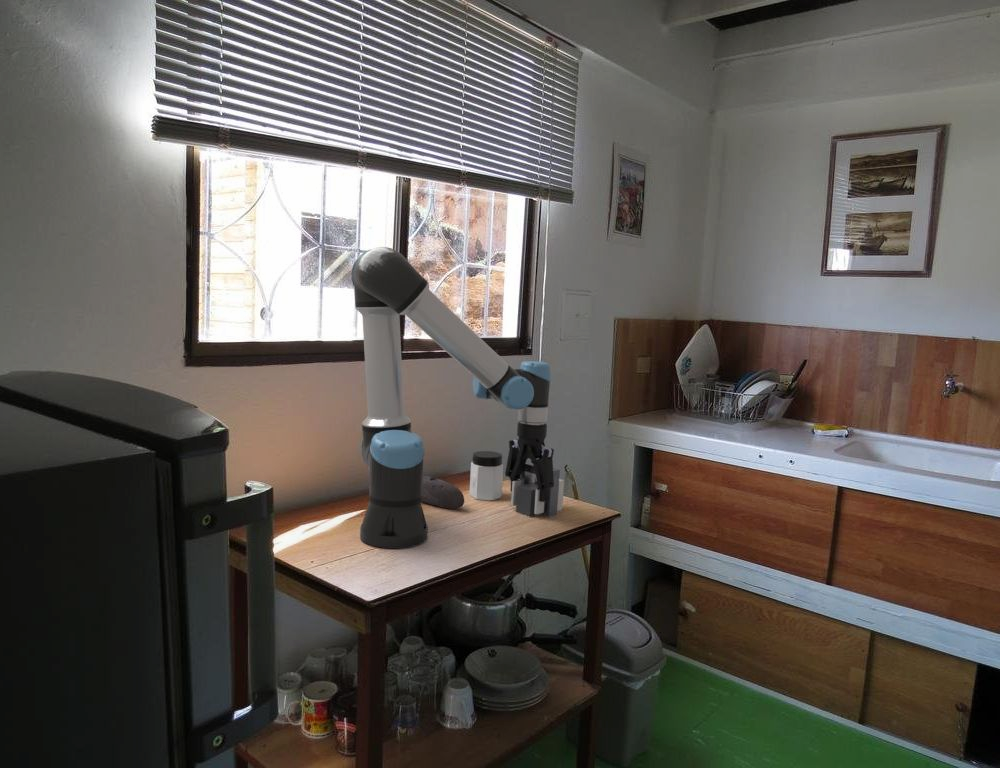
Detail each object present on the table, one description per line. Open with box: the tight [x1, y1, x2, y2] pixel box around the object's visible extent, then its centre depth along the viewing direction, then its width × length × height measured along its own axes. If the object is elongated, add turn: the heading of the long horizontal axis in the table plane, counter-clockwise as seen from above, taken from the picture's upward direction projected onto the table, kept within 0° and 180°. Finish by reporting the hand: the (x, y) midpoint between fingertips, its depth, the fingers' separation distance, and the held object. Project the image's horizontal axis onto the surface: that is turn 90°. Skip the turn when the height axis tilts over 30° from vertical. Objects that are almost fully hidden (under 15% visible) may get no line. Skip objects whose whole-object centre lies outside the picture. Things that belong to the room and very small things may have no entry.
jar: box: [469, 450, 504, 501], centre depth 196 cm, size 9×8×12 cm
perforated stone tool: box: [421, 475, 465, 510], centre depth 185 cm, size 15×5×7 cm, turn 55°
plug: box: [515, 477, 565, 518], centre depth 187 cm, size 14×6×8 cm, turn 134°
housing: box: [519, 460, 561, 518], centre depth 185 cm, size 3×11×12 cm, turn 44°
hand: (527, 508), depth 183 cm, fingers open, 8 cm apart
